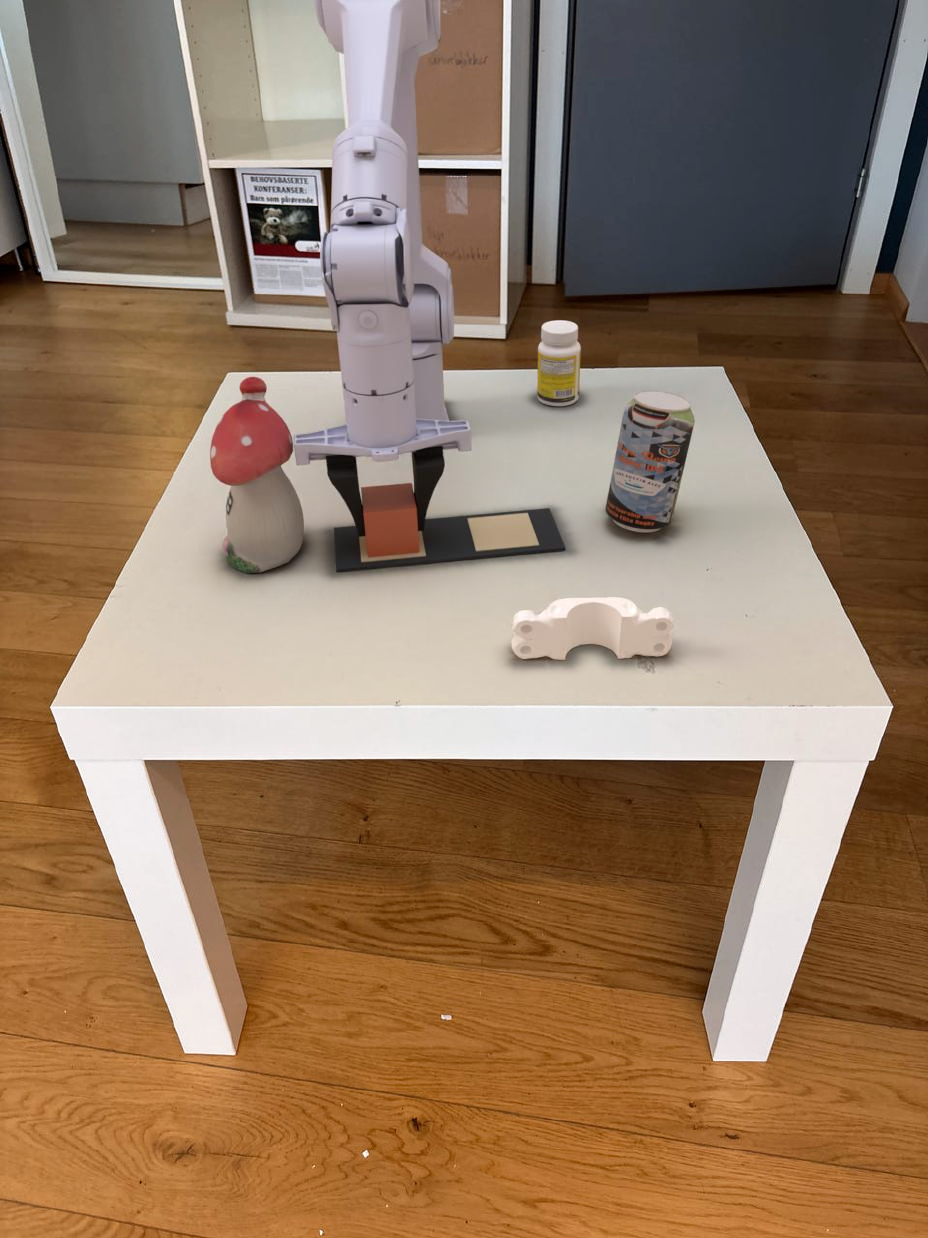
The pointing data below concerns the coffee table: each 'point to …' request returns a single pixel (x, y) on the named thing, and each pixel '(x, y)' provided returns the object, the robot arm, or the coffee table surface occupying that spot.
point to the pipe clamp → (592, 628)
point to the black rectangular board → (459, 540)
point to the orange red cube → (390, 519)
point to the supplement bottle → (559, 363)
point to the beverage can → (650, 460)
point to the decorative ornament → (256, 483)
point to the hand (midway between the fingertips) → (390, 528)
